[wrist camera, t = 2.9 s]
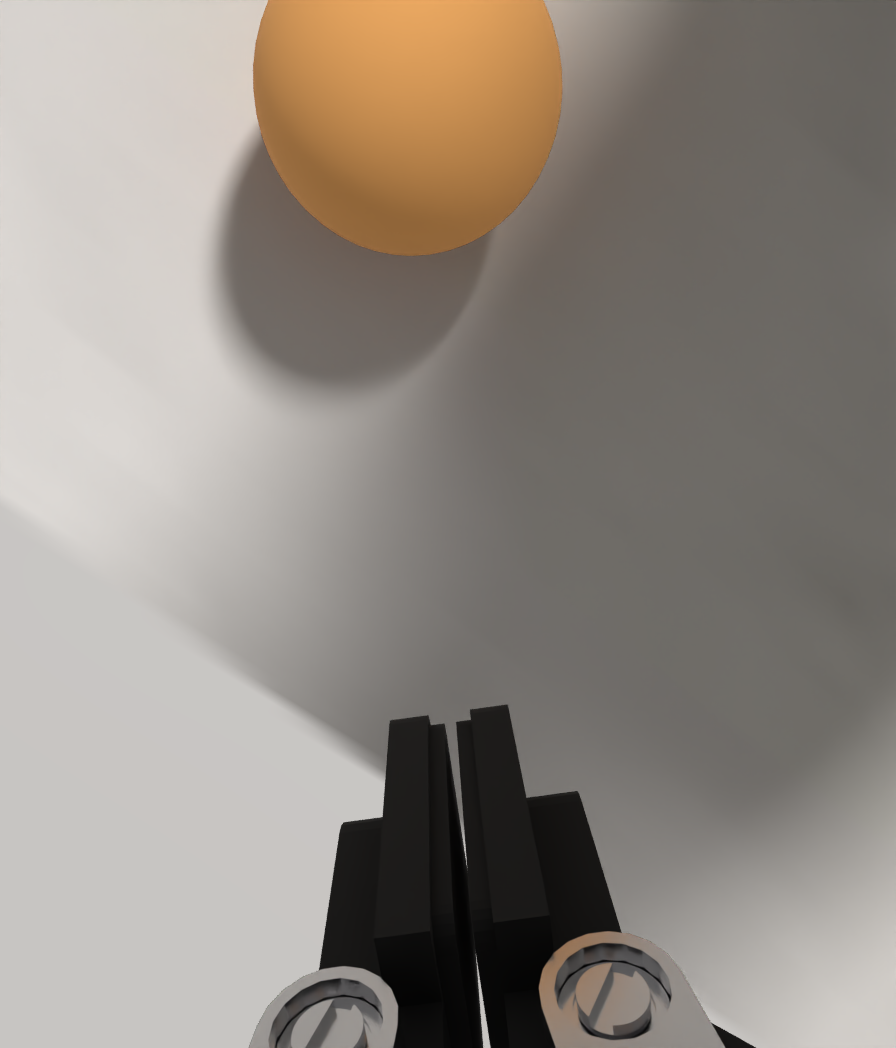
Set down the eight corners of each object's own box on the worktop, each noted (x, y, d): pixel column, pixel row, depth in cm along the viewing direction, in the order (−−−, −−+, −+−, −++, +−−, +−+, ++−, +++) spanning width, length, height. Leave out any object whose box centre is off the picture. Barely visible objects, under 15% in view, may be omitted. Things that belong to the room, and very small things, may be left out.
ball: (259, -9, 17) (178, -129, 12) (528, -50, 17) (570, -191, 11) (309, 271, 19) (259, 278, 13) (553, 237, 19) (600, 230, 13)
